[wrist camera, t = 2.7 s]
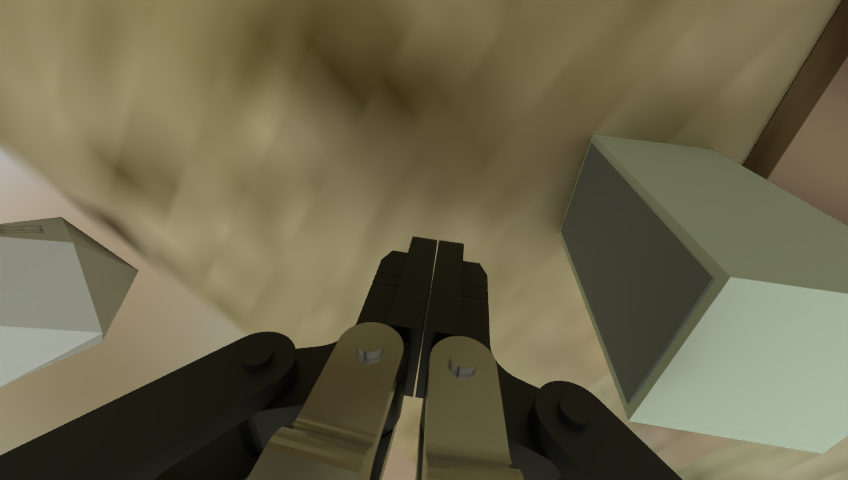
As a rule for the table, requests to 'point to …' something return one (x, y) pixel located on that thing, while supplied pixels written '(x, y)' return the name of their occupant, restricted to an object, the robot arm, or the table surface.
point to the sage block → (712, 294)
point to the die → (54, 294)
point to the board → (812, 128)
